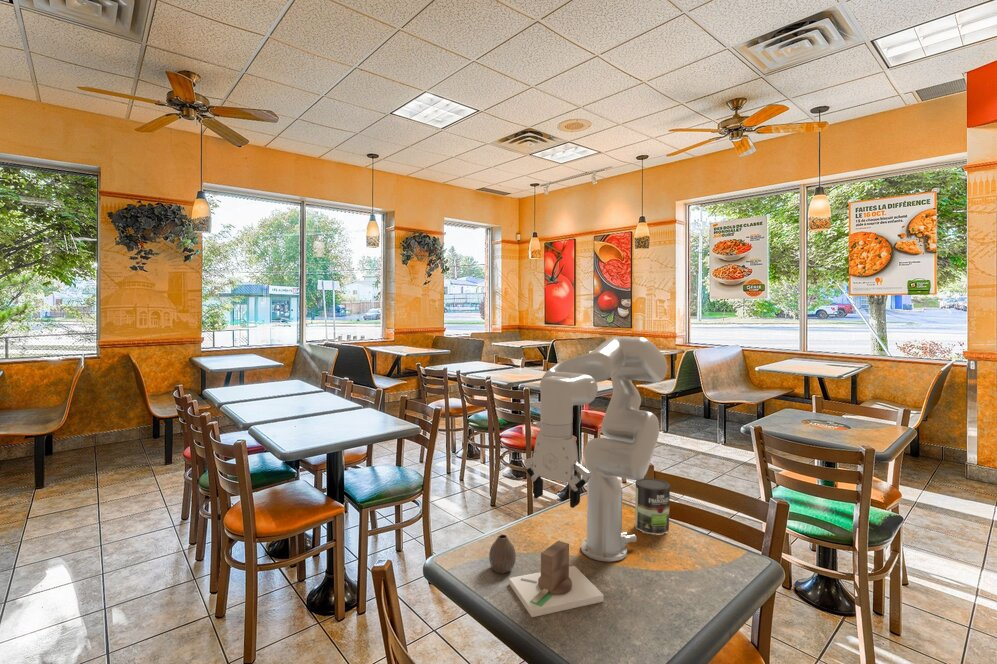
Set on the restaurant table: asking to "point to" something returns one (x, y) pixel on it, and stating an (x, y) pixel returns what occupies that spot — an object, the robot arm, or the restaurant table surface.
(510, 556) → the vase
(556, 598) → the dial board
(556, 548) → the dial knob
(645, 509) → the coffee can
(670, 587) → the restaurant table surface
